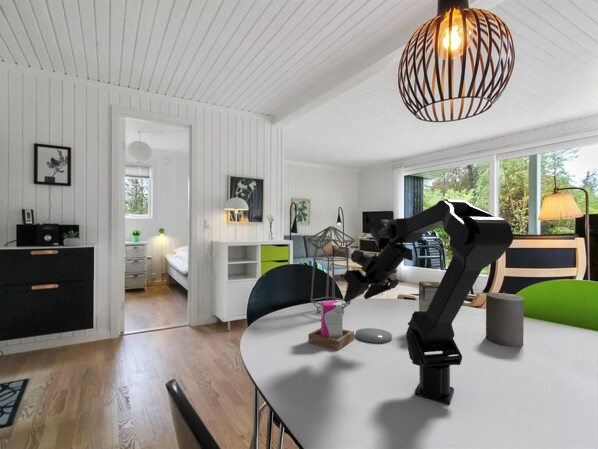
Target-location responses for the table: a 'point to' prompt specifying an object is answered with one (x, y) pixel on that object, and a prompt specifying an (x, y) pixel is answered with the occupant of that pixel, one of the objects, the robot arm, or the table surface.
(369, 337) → the slate pad
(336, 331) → the supplement box
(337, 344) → the wooden tray
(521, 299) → the pillar candle
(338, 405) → the table surface
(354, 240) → the geometric lantern
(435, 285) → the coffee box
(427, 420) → the table surface
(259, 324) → the table surface
